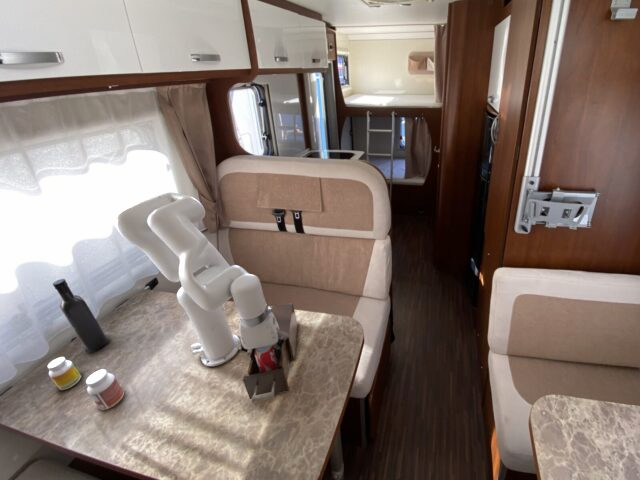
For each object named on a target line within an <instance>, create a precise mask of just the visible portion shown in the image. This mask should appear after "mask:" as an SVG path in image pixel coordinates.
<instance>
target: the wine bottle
mask: <svg viewBox="0 0 640 480" xmlns="http://www.w3.org/2000/svg"><path fill="white" fill-rule="evenodd" d="M52 286H53V287H54V289H55V290H56V291H57V293H58V294H59V296H60V298H61V300H62V301H61V302H60V304H59V307H60V308H59V309H60V310H61V311H62V313H63V315H64V317H65V318H66V319H67V321H68V323H69V324H70V326H71V327H72V329H73V331H74V332H75V333H76V336H77V337H78V338H79V340H80V341H81V343H82V344H83V346H84V348H85V349H86V350H87V351H88V352H89V353H93V352H96V351H97V350H99V349H100V348H102V347H104V346H105V345H107V344H108V343H109V340H108V338H107V336H106V334H105V333H104V331H103V329H102V326H100V323H99V322H98V320H97V319H96V318H95V316H94V313H93V312H92V310H91V309H90V307H89V306H88V304H87V302H86V300H84V298H83V297H82V296H81V295H77V294H74V293H73V292H72V290H71V288H70V287H69V285H68V282H67V281H66V279H65V278H61V279H57V280H55V281H54V282H52Z"/></svg>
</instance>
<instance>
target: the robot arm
mask: <svg viewBox="0 0 640 480" xmlns="http://www.w3.org/2000/svg"><path fill="white" fill-rule="evenodd" d="M205 216H206V210H205V207H204V205H203V204H202V203H201V202H200V200H198V199H196V198H194V197H193V196H190V195H187V194H182V193H177V192H165V193H162V194H159V195H157V196H154V197H151V198H149V199H145V200H143V201H140V202H138V203H135V204H133V205H130V206H128V207H126V208H123V209H122V210H120V211H119V212H117V213H116V215H115V216H114V218H113V223H114V227H115V228H116V230H117V232H118V233H119V234H120V236H121V237H123V239H125V241H127V242H128V243H130V244H131V245H133V246H134V247H136V248H138V249H139V250H140V251H142V252H143V253H144V254H145V255H146V256H147V257H148V259H149V260H150V261H151V262H152V263H153V265H154V266H155V267H156V268H157V269H158V270H159V272H160V273H161V274H162V275H163V276H164V277H165V278H166V279H167V280H168V281H169V282H171V283H178V282H180V285H181V287H180V288H179V289H178V291H177V293H176V299H177V301H178V303H179V305H180V306H181V307H182V309H183V310H184V311H185V313H186V314H187V316H188V318H189V320H190V322H191V324H192V327H193V329H194V331H195V333H196V336H197V338H198V341H199V343H198V342H197V343H193V344H191V346H190V347H191V349H190V350H191V351H192V355H193V356H195V355H199V354H200V360H201V363H202V364H203V365H204V366H207V367H218V366H221V365H223V364H225V363H227V362H228V361H230V360H231V359H232V358H233V357H235V356H236V354H237V353H238V351H239V350H240V351H241V352H243V353H246V355H247V356H249V358H250V359H251V360H252V361H253V364H256V362H257V361H256V358H255V355H254V351H255V348H259V347H264V346H268V345H272V346H273V347H274V348H275V350H274V351H275V355H276V358H277V359H279V357H280V354H282V349H281V345H282V344H283V343H284V341H285V340H286V339H287V338H288V335H289V333H287V332H285V331H283V330H280V329H279V326H278V323H277V321H276V318H275V316H274V314H273V313H272V312H273V308H270V307H271V306H268V304H267V302H266V298H265V295H264V291H263V288H262V283H261V280H260V278H259V277H258V276H257V275H256V274H251V273H249V272H248V271H247V270H246V269H245V267H242V266H240V265H237V264H233V265H230V264H229V263H228V261H227V260H226V259H225V258H224V257H223V256H222V254H221V253H220V252H219V250H218V249H217V247H215V246H214V245H213V244H212V243H211V242H210V241H209V240H208V238H207V237H206V236H205V234H203V232H202V231H200V230H199V229H198V228H197V226H196V225H195V224H196V223H198V222H200V221H202V220H203V219H204V218H205ZM204 267H205V268H207V269H205V270H203V271H202V272H200V273H198V274H197V275H195V276H194V273H196V272H197V271H199V270H200V269H203V268H204ZM231 299H233V303H234V306H235V308H236V312H237V314H238V318H239V321H238V327H239V329H238V330H239V336H240V337H239V336H238V335H237V334H234V333H233V332H232V329H231V326H230V324H229V321H228V318H227V315H226V313H225V312H226V311H225V309H224V308H223V306H222V305H224V304H225V303H226V302H228V301H229V300H231ZM278 336H281V338H280V339H279V338H278Z"/></svg>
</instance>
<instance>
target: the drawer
mask: <svg viewBox="0 0 640 480" xmlns="http://www.w3.org/2000/svg"><path fill="white" fill-rule="evenodd" d="M281 349H282V354H280V357H279V360H280V364H279V366H280V369H277V370H272V371H267V372H263V373H260V370H259V367H258V364H257V362H256V364H253V361H252V360H251V358H250V360H249V363H248V368H247V375H243V378H242V382H243V385H244V387H245V391H246V393H247V396H248V399H249V400H251V403H257V402H262V401H267V400H271V399H274V398H275V397H276V395H277V394H282V393H286V392H289V391H290V385H289V382H288V378H289V369H290V368H289V366H290V361H291V360H290V350H289V346H288V342H287V339H286V340H285V341H284V343H283V344H282V345H281Z"/></svg>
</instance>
